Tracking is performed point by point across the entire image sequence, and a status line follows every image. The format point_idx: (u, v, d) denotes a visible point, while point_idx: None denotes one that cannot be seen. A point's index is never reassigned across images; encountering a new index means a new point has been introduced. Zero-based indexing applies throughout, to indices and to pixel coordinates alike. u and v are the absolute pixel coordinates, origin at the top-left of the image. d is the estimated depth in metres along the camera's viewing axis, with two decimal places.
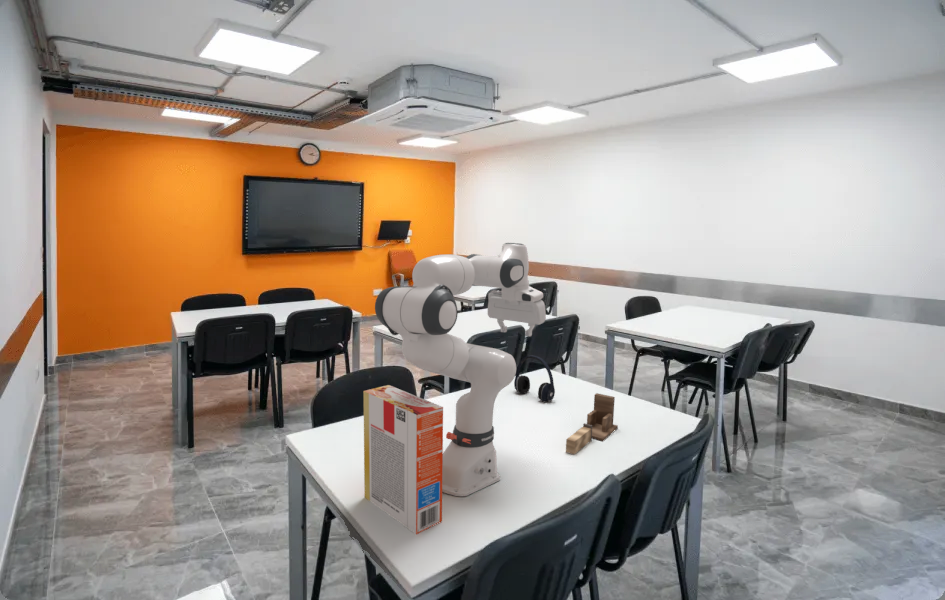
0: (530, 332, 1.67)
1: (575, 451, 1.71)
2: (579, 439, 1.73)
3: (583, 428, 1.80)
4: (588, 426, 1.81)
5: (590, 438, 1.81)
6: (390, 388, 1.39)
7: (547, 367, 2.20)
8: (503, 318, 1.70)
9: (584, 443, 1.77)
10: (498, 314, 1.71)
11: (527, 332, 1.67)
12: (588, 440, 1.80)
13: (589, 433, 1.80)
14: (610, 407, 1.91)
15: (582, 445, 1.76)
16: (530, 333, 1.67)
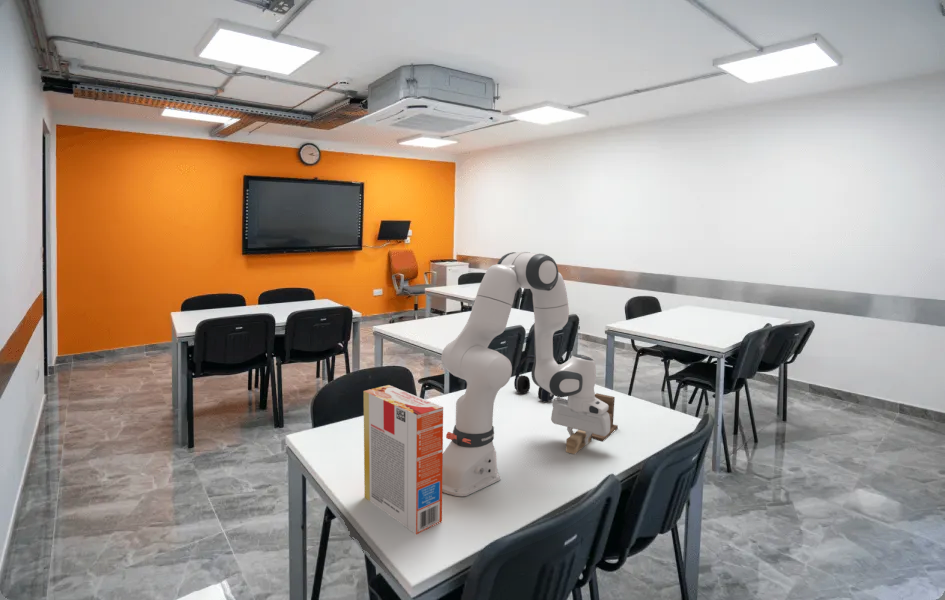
0: (587, 440, 1.75)
1: (575, 451, 1.71)
2: (579, 439, 1.73)
3: None
4: None
5: (590, 438, 1.81)
6: (390, 388, 1.39)
7: None
8: (567, 425, 1.77)
9: None
10: (562, 421, 1.77)
11: (584, 440, 1.74)
12: (588, 440, 1.80)
13: None
14: (610, 407, 1.91)
15: (582, 445, 1.76)
16: (587, 441, 1.75)
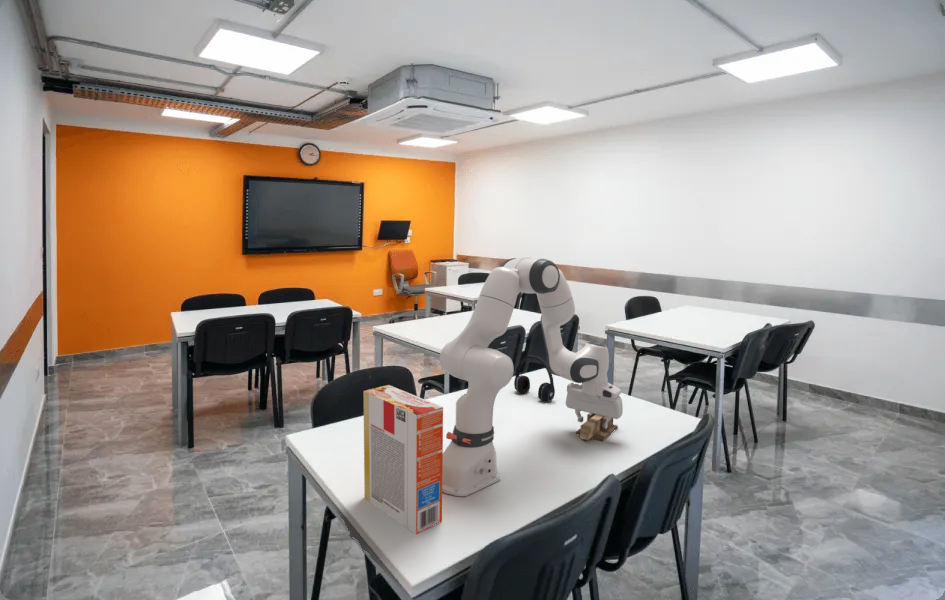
0: (606, 424, 1.82)
1: (589, 437, 1.80)
2: (592, 426, 1.82)
3: (595, 416, 1.90)
4: None
5: None
6: (390, 388, 1.39)
7: None
8: (581, 409, 1.86)
9: (597, 430, 1.86)
10: (576, 405, 1.86)
11: (604, 424, 1.82)
12: (601, 427, 1.89)
13: (601, 421, 1.89)
14: None
15: (595, 432, 1.85)
16: (606, 425, 1.82)
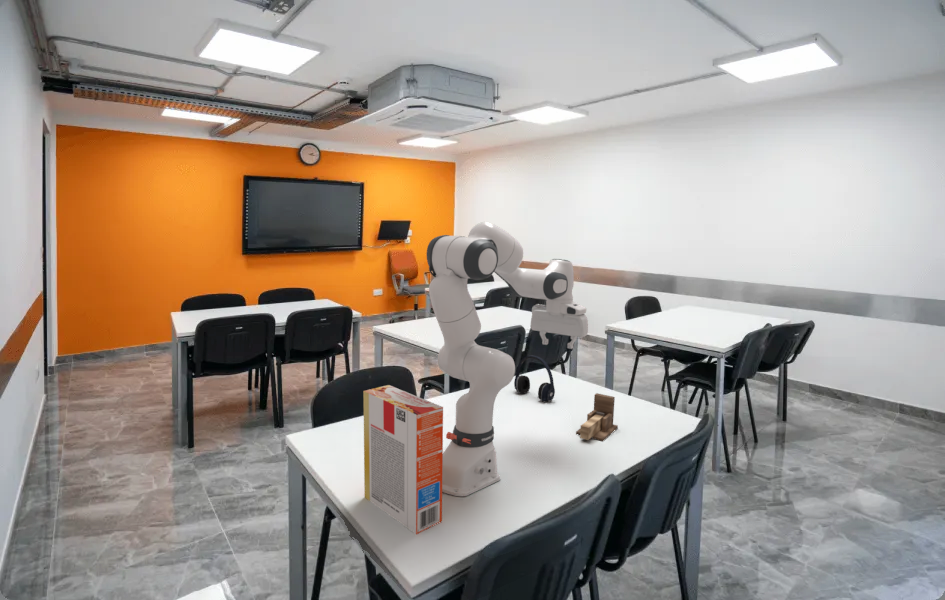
0: (572, 345, 1.75)
1: (589, 437, 1.80)
2: (592, 426, 1.82)
3: (595, 416, 1.90)
4: (600, 414, 1.91)
5: None
6: (390, 388, 1.39)
7: (547, 367, 2.20)
8: (546, 330, 1.79)
9: (597, 430, 1.86)
10: (541, 326, 1.79)
11: (569, 344, 1.75)
12: (601, 427, 1.89)
13: (601, 421, 1.89)
14: (610, 407, 1.91)
15: (595, 432, 1.85)
16: (572, 346, 1.75)
